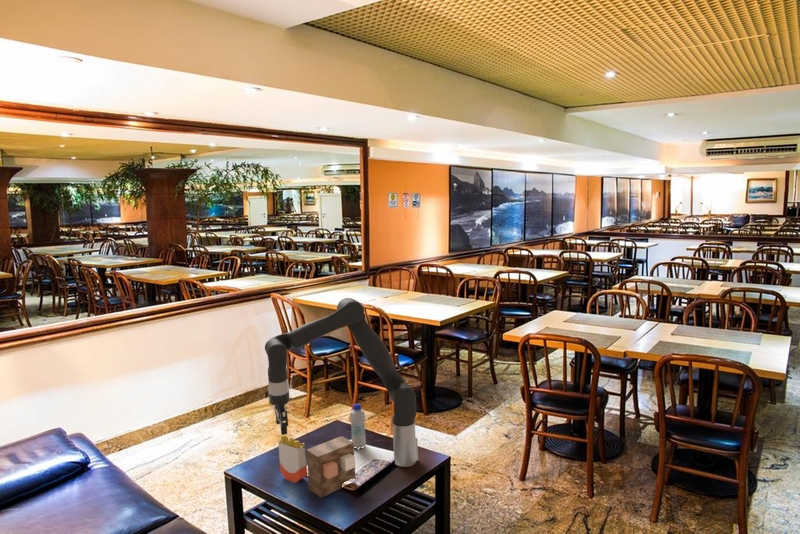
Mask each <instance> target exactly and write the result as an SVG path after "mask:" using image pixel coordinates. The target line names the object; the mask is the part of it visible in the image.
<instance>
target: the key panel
mask: <svg viewBox="0 0 800 534" xmlns="http://www.w3.org/2000/svg"><path fill="white" fill-rule="evenodd" d="M348 453H350V454H352V455H354V456H355V449H354V443H353V442H352V440H349V439H348V438H346V437H344V436H342V435H340V436H339V437H335V438H333V439H331V440H328V441H326V442H322V443H321V444H318V445H315V446H312V447H309V448H307V449H306V463H307V477H308V490H309V491H310V492H312V493H313V494H315V496H318V497H319V498H320V499H321V498H323V497H325V496H328V495H330V494H332V493H334V492H336V491H338V490H340V489H342V488H341V487H342V484H343V483H344V482H346V481H348V480H350V479H353V478H355V479H356V467H355V468H352V469H350V470H348V471H345V470H343V469H341V468H340V457H341V456H343V455H345V454H348ZM331 460H332V461H334V462H335V463H337V467H338V475H337V476H334V477H332V478H330V479H327V478H325V477H324V476H322V464H324V463H326V462H329V461H331Z"/></svg>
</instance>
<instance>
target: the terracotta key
mask: <svg viewBox="0 0 800 534" xmlns="http://www.w3.org/2000/svg"><path fill="white" fill-rule="evenodd" d="M337 475H338V467H337V463H335V462H334V461H332V460H331V461H329V462H326V463H324V464H322V476H324V477H325V478H327V479H330V478H332V477H334V476H337Z"/></svg>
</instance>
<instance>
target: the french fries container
mask: <svg viewBox="0 0 800 534" xmlns="http://www.w3.org/2000/svg"><path fill="white" fill-rule="evenodd" d="M277 444H278V455H279V468H280V469H279V470H280V473H281V475H282V476H283V478H284V479H285V480H287V481H289V482H291V483H293V484H296V483H297V482H300V481H301V480H302V479H304V478H305V477H306V476H308V465H307V454H306V449H305V442H302V443H300V440H294V437H292V436H290V437H289V436H288V435H287V434H285V435H282V434H280V439H279V440H278V442H277Z"/></svg>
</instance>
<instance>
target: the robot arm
mask: <svg viewBox="0 0 800 534" xmlns="http://www.w3.org/2000/svg"><path fill="white" fill-rule="evenodd" d="M364 315H365V308H364V305H363V304H362V302H361V303H360V301H358V300H356V299H355V298H352V297H351V298H350V297H345V298H342V299H341V300H339V302H338V304H337V306H336V311H335V312H333V313H331V314H329V315H327V316H324V317H322V318H318V319H316V320H312V321H310V322H307V323H305V324H303V325H301V326H299V327H297V328H294V329H292V330H291V331H289V332H284V333H280V334H278V335H276V336H273V337H270V338H269V339H268V340H267V341H266V342H265V344H264V350H265V354H266V355H267V361H268V367H267V378H268V385H267V388H268V399H269V405H272V406H273V412H274V415H275V421H276V422H275V423H276V425H279V426H280V435H287V434H288V426H289V419H288V411H287V409H288V408H287V406H285V405H287V404H288V403H290V399H291V398H290V386H289V380H288V369H287V365H288V364H287V363H288V352H287V351H288V350H290V349H300V348H302V347H304V346H305V345H307V344H309V343H310V344H311V343H312V342H314V341H315V340H317V339H319V338H321V337H323V336H325V335H328V334H330V333H332V332H334V331H337V330H339V329H341V328H346V327H347V328H348V329H349V331H350V333H351V334H352V335H353V337H354V339H355V342H356V343H357V345H358V347H359V350H360V351H361V352H362V355H363V356H364V358H365V359H366V361H367V363H368V364H369V366H370V367H371V368H372V370H373V371H374V372H375V373H376V375H377V376H378V377H379V378H380V379H381V381H382V383H383V385H384V387H385V389H386V391H387V393H388V395H389V398H390V400H391V402H393V407H394V413H393V415H392V419H391V420H392V439H393V440H392V441H393V461H394V460H395V463H394V465H396V466H398V467H401V468H402V467H403V468H404V467H405V468H408V467H412V466H414V465H415V464H416V463H417V461H419V449H418V448H419V447H418V446H419V443H418V441H419V440H418V437H416V416H417V395H416V391H415V390H414V389H413V388H412V387H411V386H410V385H409V384H408V383H407V382H406V381H405V380H404V378H403V377H402V376H401V375H400V373H399V372H398V370H397V368H396V366H395V363H394V361H393V358H392V355H391V353H390V351H389V349H388V348H387V346H386V344H385V343H384V341H383V340H382V339H381V338H380V336H379V334H377V332H376V331H375V330H374V329H373V328H372V327H371V326H370V325H369V323H368V322H367V320H366V318H365V316H364Z"/></svg>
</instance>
